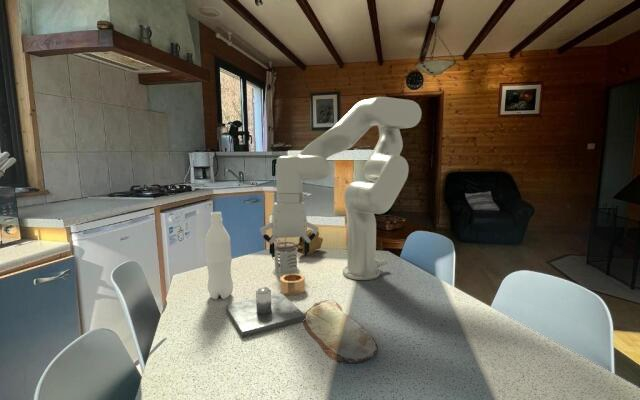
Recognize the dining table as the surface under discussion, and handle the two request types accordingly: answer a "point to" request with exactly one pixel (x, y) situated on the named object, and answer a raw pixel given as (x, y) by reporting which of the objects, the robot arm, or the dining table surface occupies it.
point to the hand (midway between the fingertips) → (289, 255)
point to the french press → (285, 259)
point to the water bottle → (218, 258)
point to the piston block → (263, 313)
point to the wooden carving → (313, 244)
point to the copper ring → (292, 284)
